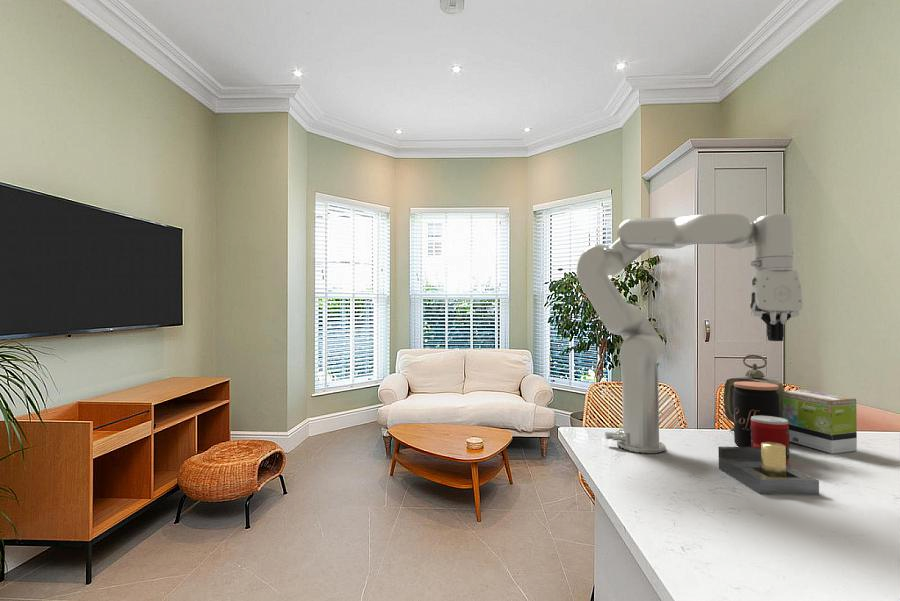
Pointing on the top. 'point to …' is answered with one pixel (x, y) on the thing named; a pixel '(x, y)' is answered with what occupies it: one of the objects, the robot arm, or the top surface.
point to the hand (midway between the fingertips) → (775, 340)
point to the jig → (749, 472)
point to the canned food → (770, 431)
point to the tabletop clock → (752, 376)
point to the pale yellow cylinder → (773, 459)
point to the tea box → (821, 420)
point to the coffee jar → (752, 407)
